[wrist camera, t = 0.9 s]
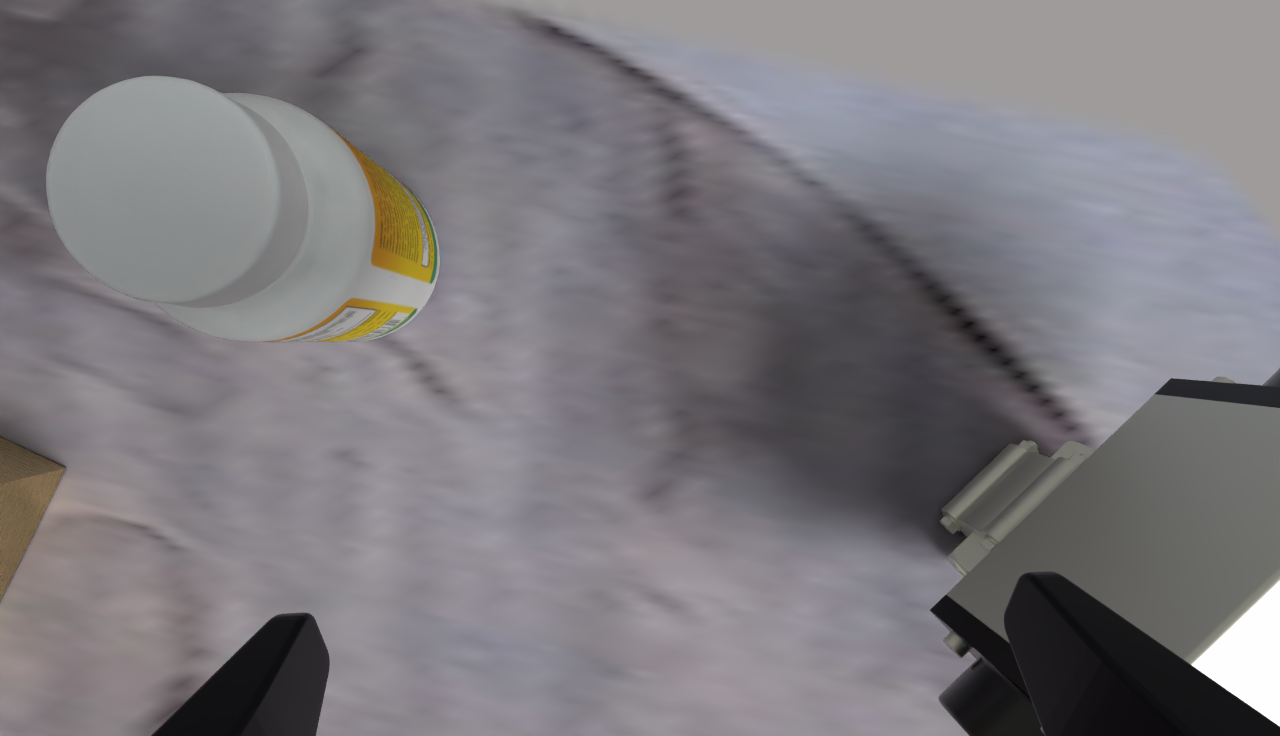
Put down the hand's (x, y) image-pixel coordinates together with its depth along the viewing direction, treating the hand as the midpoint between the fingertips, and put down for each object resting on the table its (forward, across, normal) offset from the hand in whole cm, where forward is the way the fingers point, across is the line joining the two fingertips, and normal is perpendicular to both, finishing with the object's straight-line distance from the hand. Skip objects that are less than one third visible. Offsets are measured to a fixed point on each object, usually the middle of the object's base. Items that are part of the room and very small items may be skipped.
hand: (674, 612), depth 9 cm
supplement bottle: (+15, +8, +1) cm, 17 cm away
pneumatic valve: (+10, -13, +9) cm, 19 cm away
